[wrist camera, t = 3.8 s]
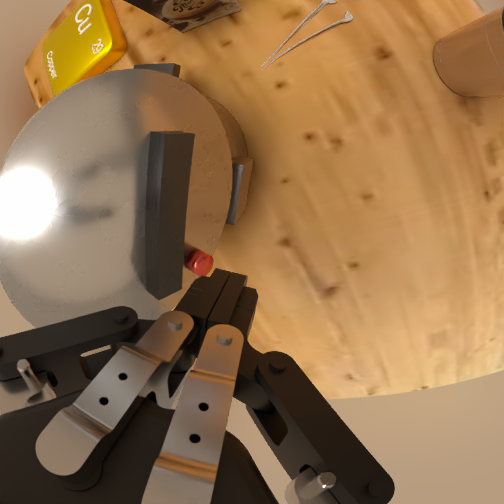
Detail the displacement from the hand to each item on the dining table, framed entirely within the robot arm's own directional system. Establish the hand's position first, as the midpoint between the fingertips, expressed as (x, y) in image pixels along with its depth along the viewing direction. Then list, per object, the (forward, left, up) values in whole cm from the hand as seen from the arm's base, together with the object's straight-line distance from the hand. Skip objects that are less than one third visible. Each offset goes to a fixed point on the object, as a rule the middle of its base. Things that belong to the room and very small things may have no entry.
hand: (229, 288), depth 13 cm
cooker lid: (+9, 0, -5) cm, 10 cm away
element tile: (+36, -19, -27) cm, 49 cm away
